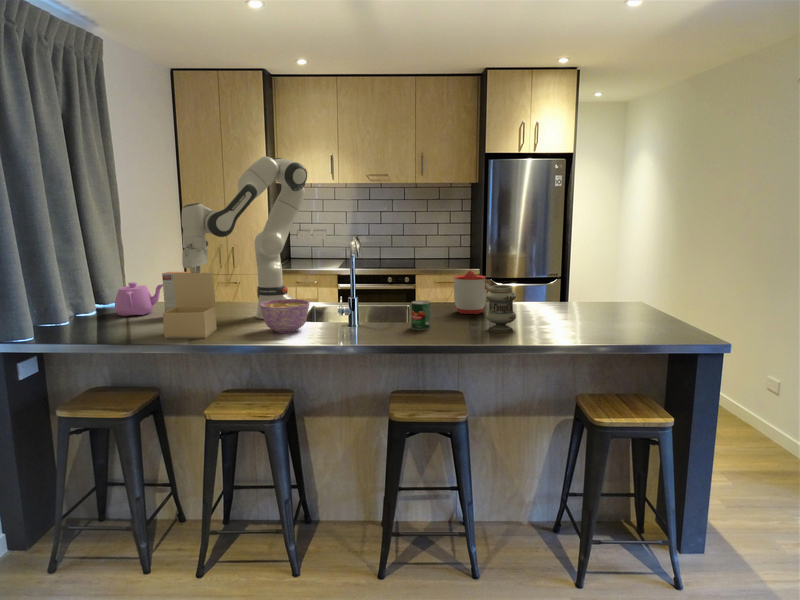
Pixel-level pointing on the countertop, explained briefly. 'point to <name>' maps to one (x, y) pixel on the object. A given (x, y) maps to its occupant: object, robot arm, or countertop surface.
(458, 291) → the citrus juicer
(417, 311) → the canned tomato
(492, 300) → the apothecary jar
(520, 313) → the countertop surface
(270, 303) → the bowl of food
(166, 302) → the cracker box
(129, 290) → the teapot
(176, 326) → the open wooden box
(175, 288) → the wooden box lid
